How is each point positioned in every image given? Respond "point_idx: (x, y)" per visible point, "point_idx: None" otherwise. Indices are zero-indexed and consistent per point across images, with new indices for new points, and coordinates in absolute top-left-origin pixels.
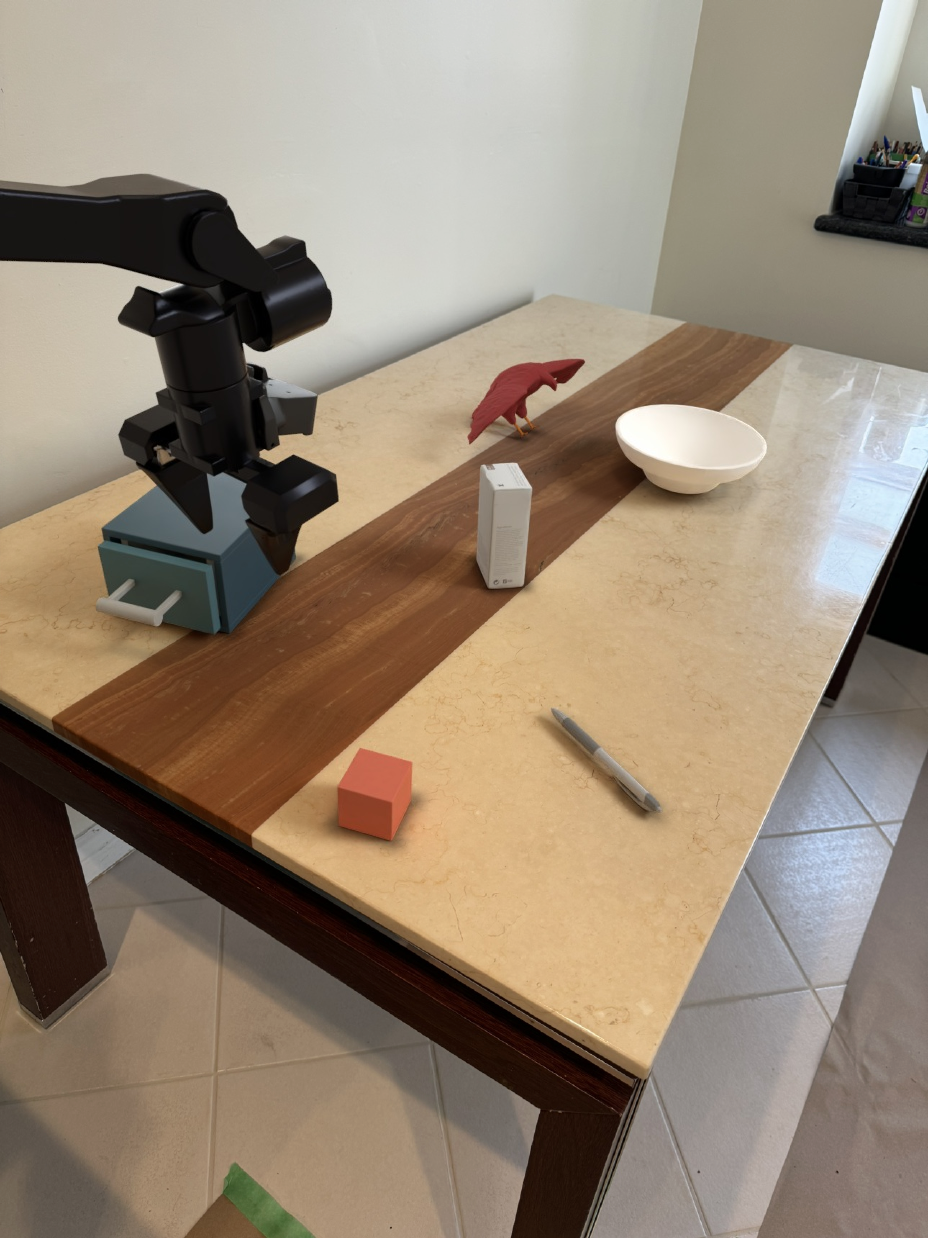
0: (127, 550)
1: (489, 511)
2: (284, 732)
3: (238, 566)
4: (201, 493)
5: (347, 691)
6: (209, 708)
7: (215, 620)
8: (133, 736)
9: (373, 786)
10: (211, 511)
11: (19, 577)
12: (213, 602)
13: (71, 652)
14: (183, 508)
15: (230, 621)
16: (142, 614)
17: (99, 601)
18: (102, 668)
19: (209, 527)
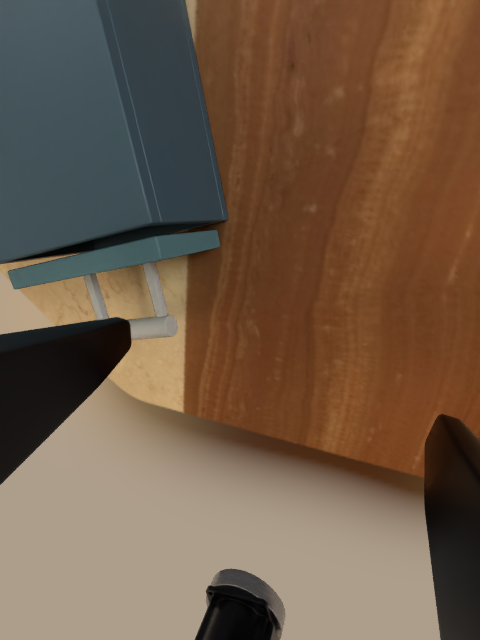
0: (43, 276)
1: None
2: (416, 349)
3: (171, 164)
4: (17, 384)
5: (467, 233)
6: (301, 350)
7: (210, 241)
8: (261, 412)
9: None
10: (88, 335)
11: (3, 266)
12: (195, 243)
13: None
14: (48, 436)
15: (220, 215)
16: (153, 336)
17: None
18: (164, 343)
19: (123, 334)
